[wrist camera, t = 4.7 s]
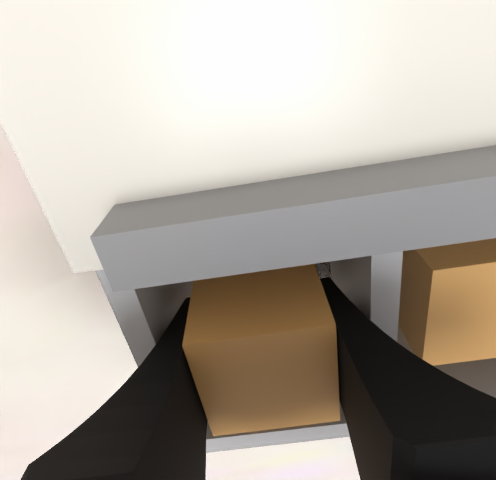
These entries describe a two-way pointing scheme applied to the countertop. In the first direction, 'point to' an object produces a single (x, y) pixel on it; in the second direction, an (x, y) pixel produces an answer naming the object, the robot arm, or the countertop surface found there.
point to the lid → (251, 129)
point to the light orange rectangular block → (263, 350)
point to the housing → (376, 309)
